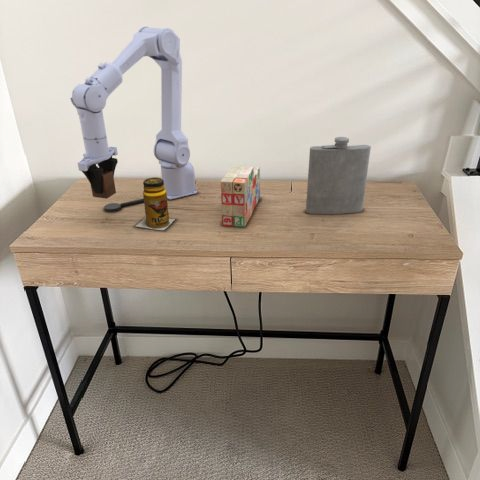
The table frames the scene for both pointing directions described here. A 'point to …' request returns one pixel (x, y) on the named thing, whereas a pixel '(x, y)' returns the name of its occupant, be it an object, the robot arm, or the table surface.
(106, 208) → the serving spoon
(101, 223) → the table surface
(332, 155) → the hip flask
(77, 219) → the table surface
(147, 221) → the condiment
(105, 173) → the walnut block
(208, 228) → the table surface
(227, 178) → the stack of blocks
